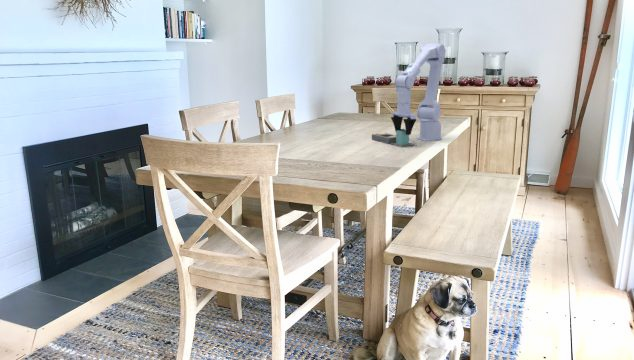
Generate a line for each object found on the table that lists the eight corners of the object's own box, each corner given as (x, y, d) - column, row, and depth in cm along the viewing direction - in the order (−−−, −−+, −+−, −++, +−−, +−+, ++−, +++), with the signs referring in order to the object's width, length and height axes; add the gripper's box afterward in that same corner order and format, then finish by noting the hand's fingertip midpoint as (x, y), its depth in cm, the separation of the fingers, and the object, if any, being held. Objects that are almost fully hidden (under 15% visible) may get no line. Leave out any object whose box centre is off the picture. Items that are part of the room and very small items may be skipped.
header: (385, 138, 254) (385, 132, 253) (403, 142, 242) (403, 136, 241) (371, 139, 250) (371, 133, 250) (388, 143, 238) (389, 137, 237)
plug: (403, 142, 238) (403, 128, 237) (408, 144, 235) (409, 129, 233) (396, 143, 236) (396, 129, 235) (401, 145, 233) (401, 130, 231)
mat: (404, 142, 241) (404, 141, 241) (415, 145, 234) (415, 144, 234) (390, 144, 237) (390, 143, 237) (400, 146, 230) (400, 146, 230)
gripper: (386, 102, 236) (386, 132, 239) (406, 104, 223) (405, 136, 226) (399, 101, 239) (398, 130, 242) (419, 103, 226) (418, 135, 230)
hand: (403, 133), depth 234 cm, fingers open, 7 cm apart
